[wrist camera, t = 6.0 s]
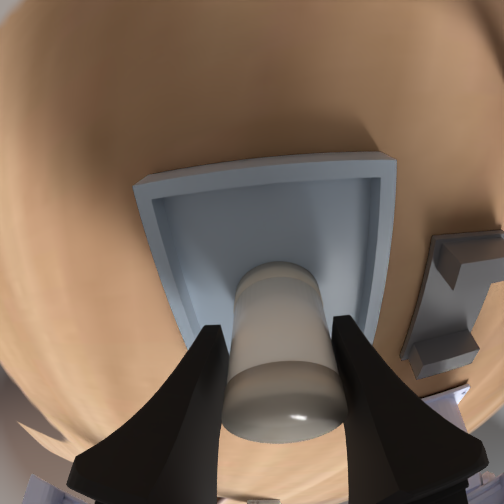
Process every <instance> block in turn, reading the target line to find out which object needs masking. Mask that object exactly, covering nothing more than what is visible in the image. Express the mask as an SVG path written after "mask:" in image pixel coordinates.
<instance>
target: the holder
mask: <svg viewBox="0 0 504 504" xmlns="http://www.w3.org/2000/svg"><path fill="white" fill-rule="evenodd" d="M500 281H504V231H503V230H494V231H482V232H470V233H458V234H445V235H433V236H432V239H431V245H430V250H429V255H428V260H427V264H426V269H425V273H424V278H423V282H422V286H421V290H420V294H419V297H418V301H417V304H416V308H415V311H414V315H413V318H412V321H411V324H410V328H409V331H408V334H407V337H406V340H405V342H404V345H403V348H402V351H401V354H400V358H401V361H402V360H407V359H409V362H410V365H411V367H412V370H413V372H414V375H415V378H416V380H418V379H422V378H425V377H429V376H433V375H436V374H440V373H443V372H446V371H450V370H453V369H456V368H459V367H462V366H465V365H468V364H471V363H472V361H473V360H474V358H475V356H476V355H477V353H478V351H479V349H480V348H479V346H478V345H477V343H476V341H475V340H474V338H473V336H472V335H471V333H470V332H471V330H472V328H473V326H474V324H475V321H476V319H477V317H478V315H479V312H480V310H481V308H482V305H483V303H484V300H485V298H486V295H487V293H488V290H489V287H490V285H491V283H496V282H500Z"/></svg>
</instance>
